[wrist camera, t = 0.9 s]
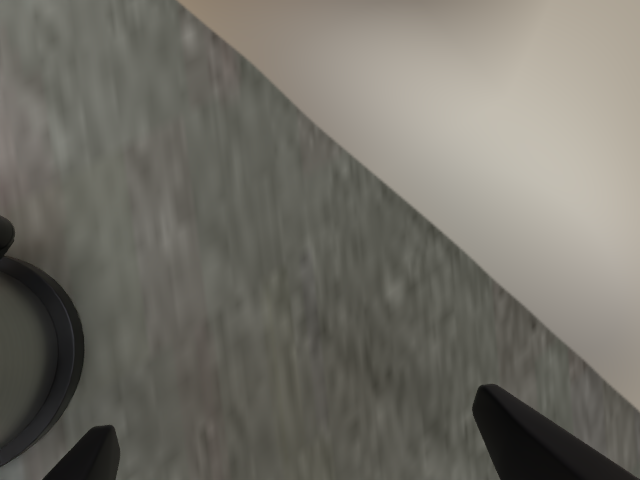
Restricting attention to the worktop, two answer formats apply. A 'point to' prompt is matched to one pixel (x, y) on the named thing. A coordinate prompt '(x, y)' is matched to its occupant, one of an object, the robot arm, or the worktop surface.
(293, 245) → the worktop surface
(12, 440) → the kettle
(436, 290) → the worktop surface
